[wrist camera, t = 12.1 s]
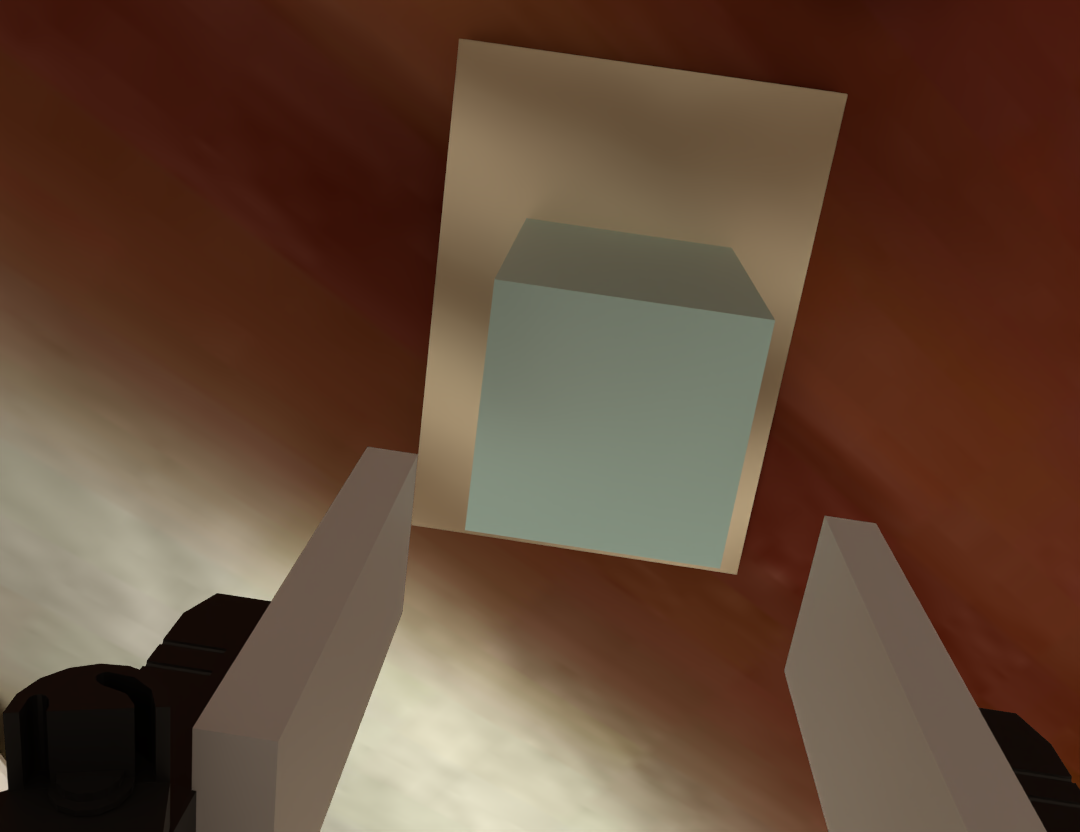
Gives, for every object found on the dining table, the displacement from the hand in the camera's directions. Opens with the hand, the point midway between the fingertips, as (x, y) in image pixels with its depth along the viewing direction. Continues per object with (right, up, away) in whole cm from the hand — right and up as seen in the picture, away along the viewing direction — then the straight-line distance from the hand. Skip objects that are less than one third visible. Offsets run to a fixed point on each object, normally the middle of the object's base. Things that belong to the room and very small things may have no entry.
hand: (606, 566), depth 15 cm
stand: (+1, +5, +14) cm, 15 cm away
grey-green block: (+1, +5, +13) cm, 14 cm away
